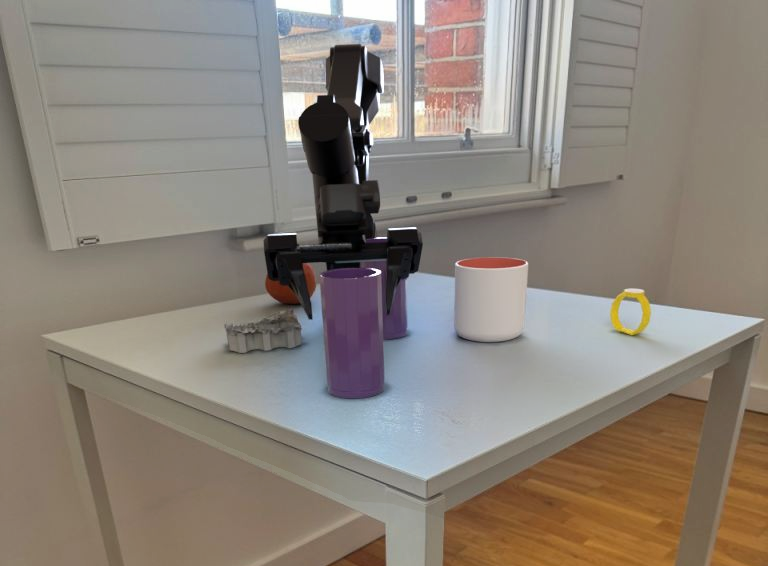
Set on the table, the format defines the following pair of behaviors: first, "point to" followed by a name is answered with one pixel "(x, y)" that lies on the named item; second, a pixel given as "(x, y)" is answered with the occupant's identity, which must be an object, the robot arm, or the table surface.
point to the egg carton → (265, 333)
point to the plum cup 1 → (353, 331)
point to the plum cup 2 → (398, 316)
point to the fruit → (284, 292)
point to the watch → (644, 304)
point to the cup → (490, 298)
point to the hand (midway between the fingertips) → (349, 315)
